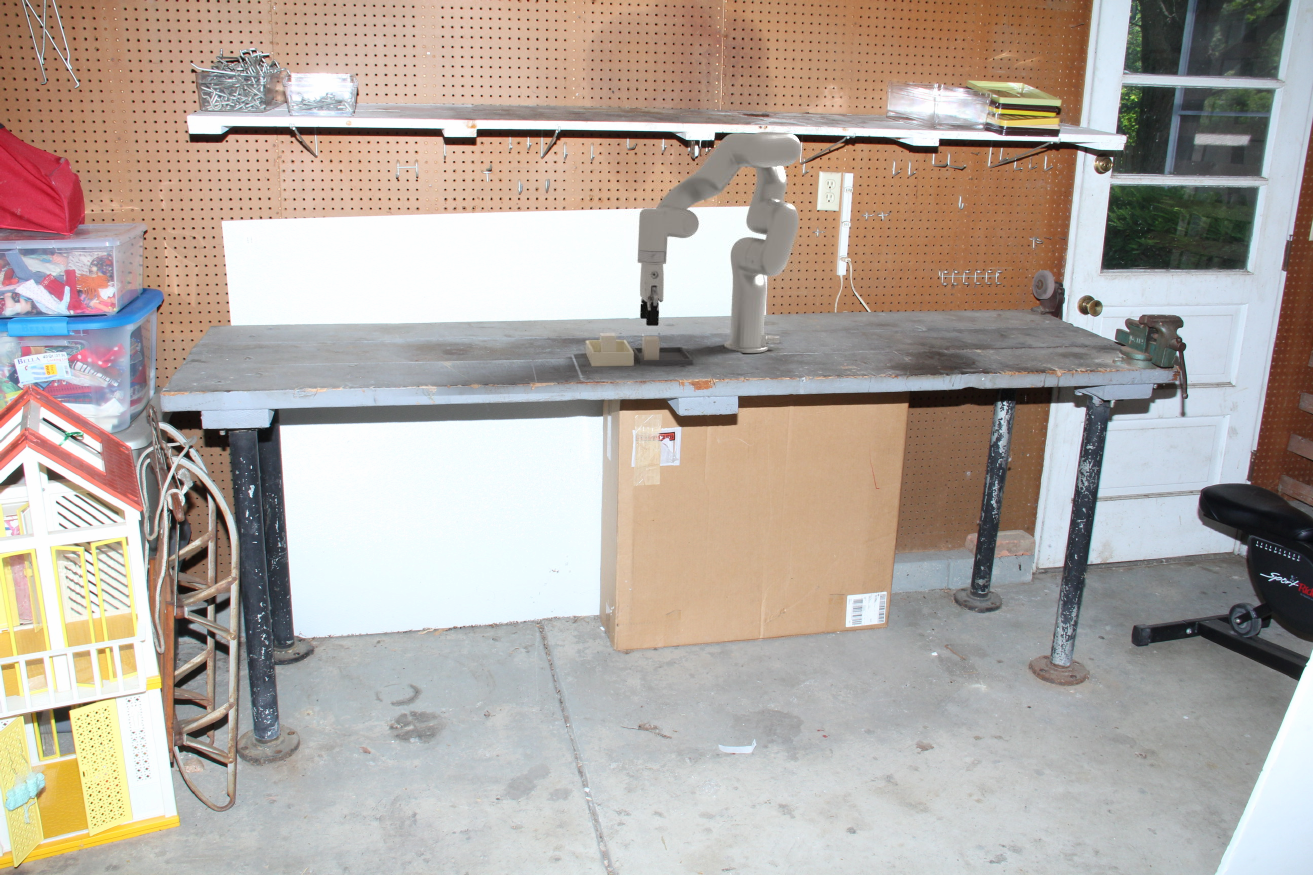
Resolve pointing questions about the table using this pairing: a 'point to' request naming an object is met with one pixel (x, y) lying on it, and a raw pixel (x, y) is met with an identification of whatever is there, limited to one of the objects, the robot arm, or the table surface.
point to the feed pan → (666, 356)
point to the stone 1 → (607, 342)
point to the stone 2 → (650, 348)
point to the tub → (610, 354)
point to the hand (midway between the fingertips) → (649, 322)
